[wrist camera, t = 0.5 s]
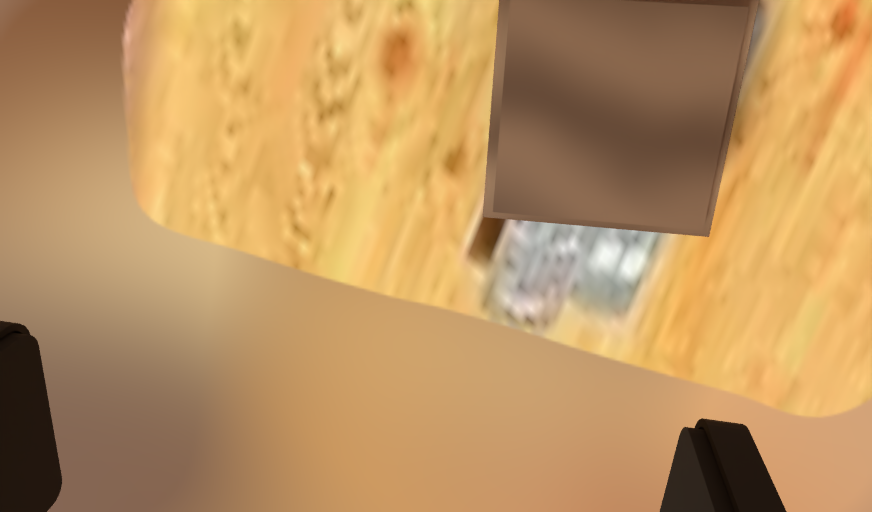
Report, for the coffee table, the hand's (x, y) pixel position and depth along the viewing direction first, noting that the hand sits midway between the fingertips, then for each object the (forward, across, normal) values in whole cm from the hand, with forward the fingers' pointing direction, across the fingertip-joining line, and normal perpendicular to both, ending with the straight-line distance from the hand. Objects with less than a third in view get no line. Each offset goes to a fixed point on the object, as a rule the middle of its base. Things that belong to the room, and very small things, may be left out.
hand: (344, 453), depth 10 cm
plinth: (+29, -6, -1) cm, 30 cm away
